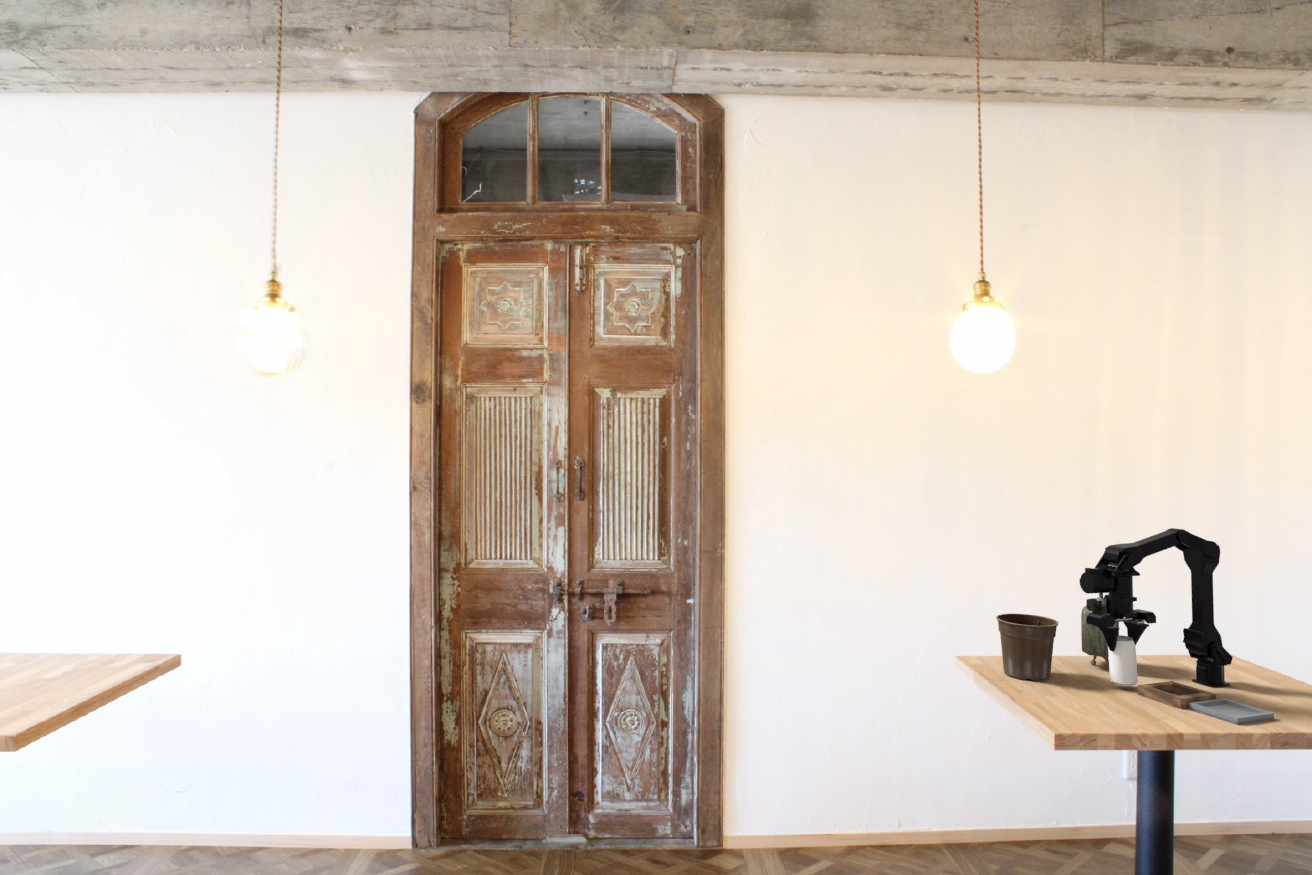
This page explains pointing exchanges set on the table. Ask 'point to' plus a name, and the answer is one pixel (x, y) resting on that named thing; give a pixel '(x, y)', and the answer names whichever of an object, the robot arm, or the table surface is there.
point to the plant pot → (1027, 645)
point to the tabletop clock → (1094, 637)
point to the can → (1123, 662)
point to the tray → (1231, 711)
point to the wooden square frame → (1165, 690)
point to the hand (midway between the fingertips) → (1121, 649)
